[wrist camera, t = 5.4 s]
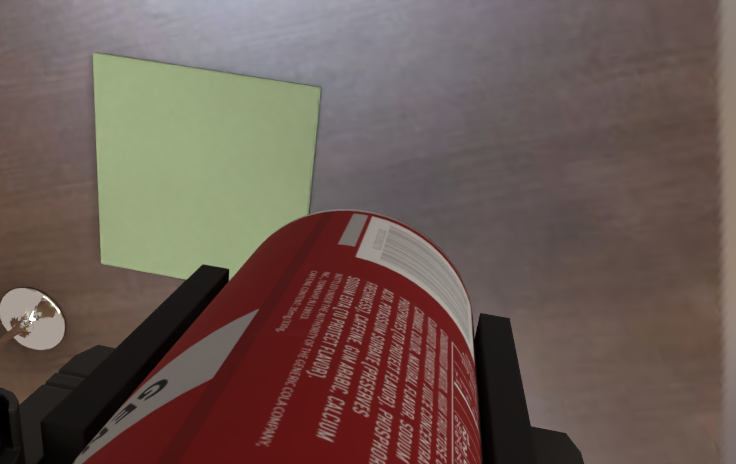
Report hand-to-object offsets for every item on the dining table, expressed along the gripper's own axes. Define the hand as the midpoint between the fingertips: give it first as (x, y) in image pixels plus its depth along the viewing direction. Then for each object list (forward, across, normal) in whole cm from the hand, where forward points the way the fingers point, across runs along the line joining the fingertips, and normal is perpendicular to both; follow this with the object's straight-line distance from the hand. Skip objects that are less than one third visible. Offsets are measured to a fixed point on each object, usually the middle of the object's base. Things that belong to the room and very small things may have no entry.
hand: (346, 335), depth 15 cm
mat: (+15, -10, -2) cm, 19 cm away
